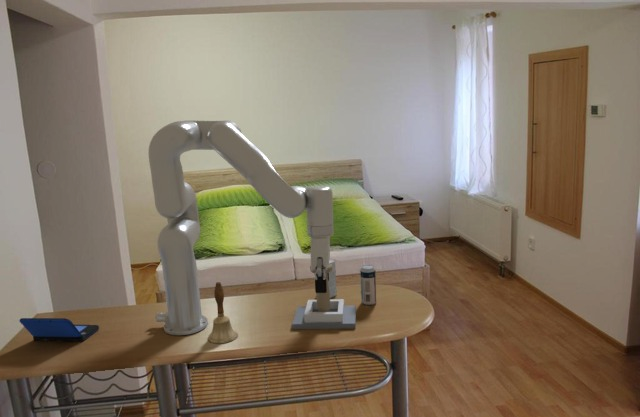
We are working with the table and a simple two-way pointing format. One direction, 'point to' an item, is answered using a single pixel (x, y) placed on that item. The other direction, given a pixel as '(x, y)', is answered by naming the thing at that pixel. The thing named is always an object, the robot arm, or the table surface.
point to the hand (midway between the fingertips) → (322, 286)
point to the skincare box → (332, 280)
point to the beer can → (368, 285)
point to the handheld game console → (57, 329)
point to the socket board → (325, 316)
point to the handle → (324, 294)
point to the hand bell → (221, 321)
